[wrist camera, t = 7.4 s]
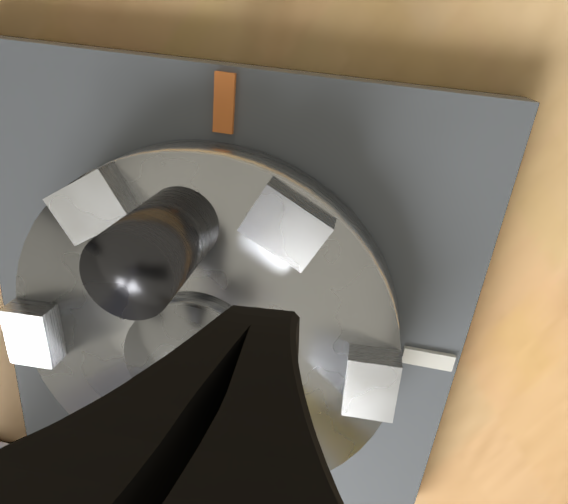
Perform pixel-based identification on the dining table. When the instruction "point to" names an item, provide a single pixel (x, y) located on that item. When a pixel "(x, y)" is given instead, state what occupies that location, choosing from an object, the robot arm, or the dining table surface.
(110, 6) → the dining table surface
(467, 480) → the dining table surface
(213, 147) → the grey turntable disc
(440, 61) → the dining table surface
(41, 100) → the boss plate
